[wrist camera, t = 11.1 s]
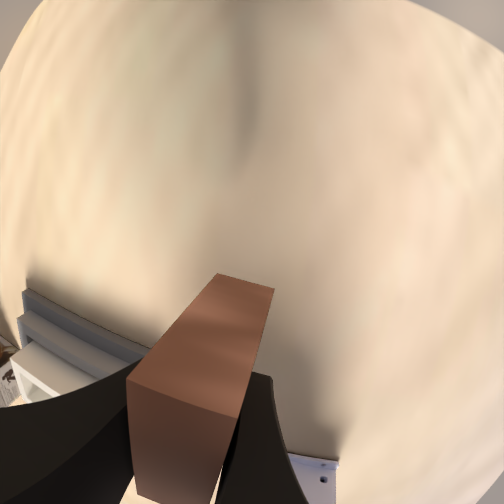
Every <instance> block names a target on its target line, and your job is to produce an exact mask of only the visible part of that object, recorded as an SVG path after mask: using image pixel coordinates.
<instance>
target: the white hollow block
mask: <svg viewBox="0 0 504 504" xmlns="http://www.w3.org/2000/svg"><path fill="white" fill-rule="evenodd" d="M10 361H11V364H12V368H13V371H14V375H15V378H16V381H17V384H18V387H19V390H20V393H21V396H22V399H23V400H24V401H25V402H26V403H33V402H38V401H42V400H46V399H50V398H54V397H57V396H60V395H63V394H66V393H69V392H72V391H75V390H77V389H80V388H82V387H85V386H87V385H89V384H92V383H94V382H96V381H98V380H100V379H98V378H96V377H94V376H92V375H91V374H89V373H87V372H85V371H83V370H82V369H80V368H78V367H76V366H75V365H73V364H71V363H69V362H68V361H66V360H64V359H63V358H61V357H60V356H58V355H56V354H55V353H53V352H52V351H50V350H48V349H47V348H45V347H44V346H42V345H41V344H39V343H38V342H36V341H35V340H33V341H32V342H30V343H29V344H28V345H26V346H25V347H24V348H22V349H21V350H19V351H18V352H17V353H15V354H14V355H13V356H11V357H10Z"/></svg>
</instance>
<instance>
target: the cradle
mask: <svg viewBox="0 0 504 504" xmlns="http://www.w3.org/2000/svg"><path fill="white" fill-rule="evenodd" d="M22 299H23V307H24V314H23V315H21V316H20V317H18V318H17V323H18V329H19V334H20V339H21V344H22V348H24V347H25V346H26V345H28V344H29V343H30V342H32V341H33V340H35V341H36V342H38V343H39V344H41V345H42V346H44V347H45V348H47V349H48V350H50V351H52V352H53V353H55V354H56V355H58V356H60V357H61V358H63V359H64V360H66V361H68V362H69V363H71V364H73V365H75V366H76V367H78V368H80V369H82V370H83V371H85V372H87V373H89V374H91V375H92V376H94V377H96V378H98V379H100V380H101V379H103V378H105V377H107V376H109V375H111V374H113V373H115V372H117V371H119V370H121V369H123V368H125V367H127V366H128V365H130V364H132V363H134V362H136V361H137V360H139V359H141V358H143V357H144V356H146V355H147V353H148V352H149V351H150V350H151V349H149V348H147V347H144V346H142V345H139V344H137V343H135V342H133V341H130V340H128V339H126V338H123V337H121V336H119V335H117V334H115V333H112V332H110V331H108V330H106V329H104V328H102V327H100V326H98V325H96V324H93V323H91V322H89V321H87V320H85V319H83V318H81V317H80V316H78V315H76V314H74V313H72V312H70V311H68V310H66V309H64V308H62V307H61V306H59V305H57V304H55V303H53V302H51V301H50V300H48V299H46V298H44V297H43V296H41V295H39V294H37V293H36V292H34V291H32V290H31V289H29V288H28V289H26V290H24V291H23V292H22Z"/></svg>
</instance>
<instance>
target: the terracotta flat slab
mask: <svg viewBox="0 0 504 504" xmlns="http://www.w3.org/2000/svg"><path fill="white" fill-rule="evenodd" d="M273 293H274V289H273V288H270V287H266V286H262V285H258V284H255V283H251V282H247V281H244V280H240V279H236V278H233V277H229V276H226V275H222V274H218V273H217V274H216V275H215V276H214V278H213V279H212V280H211V281H210V282H209V283H208V284H207V286H206V287H205V288H204V289H203V290H202V291H201V292H200V294H199V295H198V296H197V297H196V298H195V299H194V300H193V302H192V303H191V304H190V305H189V306H188V307H187V308H186V310H185V311H184V312H183V313H182V314H181V315H180V316H179V318H178V319H177V320H176V321H175V322H174V323H173V324H172V326H171V327H170V328H169V329H168V330H167V331H166V333H165V334H164V335H163V336H162V337H161V338H160V339H159V341H158V342H157V343H156V344H155V345H154V346H153V348H152V349H151V350H150V351H149V352H148V353H147V355H146V356H145V357H144V358H143V359H142V360H141V362H140V363H139V364H138V365H137V366H136V367H135V369H134V370H133V371H132V372H131V373H130V374H129V376H128V377H127V378H126V391H127V409H128V423H129V435H130V445H131V454H132V462H133V470H134V477H135V483H136V489H137V494H138V495H140V496H143V497H145V498H147V499H150V500H152V501H155V502H157V503H160V504H210V501H211V498H212V495H213V492H214V489H215V486H216V483H217V480H218V478H219V475H220V472H221V469H222V466H223V463H224V460H225V457H226V453H227V450H228V447H229V444H230V441H231V438H232V435H233V432H234V429H235V426H236V422H237V419H238V416H239V413H240V409H241V406H242V403H243V399H244V396H245V393H246V389H247V386H248V382H249V379H250V376H251V372H252V369H253V365H254V362H255V358H256V355H257V351H258V348H259V344H260V340H261V337H262V333H263V330H264V326H265V322H266V319H267V315H268V311H269V308H270V304H271V300H272V296H273Z"/></svg>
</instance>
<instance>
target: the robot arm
mask: <svg viewBox="0 0 504 504" xmlns="http://www.w3.org/2000/svg"><path fill="white" fill-rule="evenodd" d="M144 357H145V356H144ZM144 357H143V358H144ZM143 358H141V359H139V360H137V361H136V362H134V363H132V364H130V365H128V366H127V367H125V368H123V369H121V370H119V371H117V372H115V373H113V374H111V375H109V376H107V377H105V378H103V379H101V380H98V381H96V382H94V383H92V384H89V385H87V386H85V387H82V388H80V389H77V390H75V391H72V392H69V393H66V394H63V395H60V396H57V397H54V398H50V399H46V400H42V401H38V402H33V403H28V404H23V405H17V406H11V407H1V408H0V504H119V503H120V501H121V499H122V497H123V495H124V493H125V491H126V489H127V487H128V485H129V483H130V481H131V479H132V478H133V476H134V470H133V462H132V454H131V445H130V435H129V423H128V409H127V391H126V378H127V377H128V376H129V374H130V373H131V372H132V371H133V370H134V369H135V367H136V366H137V365H138V364H139V363H140V362H141V360H142V359H143ZM338 467H339V462H337V461H332V460H325V459H318V458H312V457H306V456H301V455H296V454H291V453H287V450H286V447H285V444H284V440H283V437H282V433H281V429H280V425H279V421H278V417H277V412H276V407H275V401H274V393H273V380H272V378H271V377H270V376H267V375H263V374H259V373H256V372H251V376H250V379H249V382H248V386H247V389H246V393H245V396H244V399H243V403H242V406H241V409H240V413H239V416H238V419H237V422H236V426H235V429H234V432H233V435H232V438H231V441H230V444H229V447H228V450H227V453H226V457H225V460H224V463H223V467H222V472H221V477H220V481H219V486H218V491H217V496H216V501H215V504H336V469H337V468H338Z"/></svg>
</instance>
